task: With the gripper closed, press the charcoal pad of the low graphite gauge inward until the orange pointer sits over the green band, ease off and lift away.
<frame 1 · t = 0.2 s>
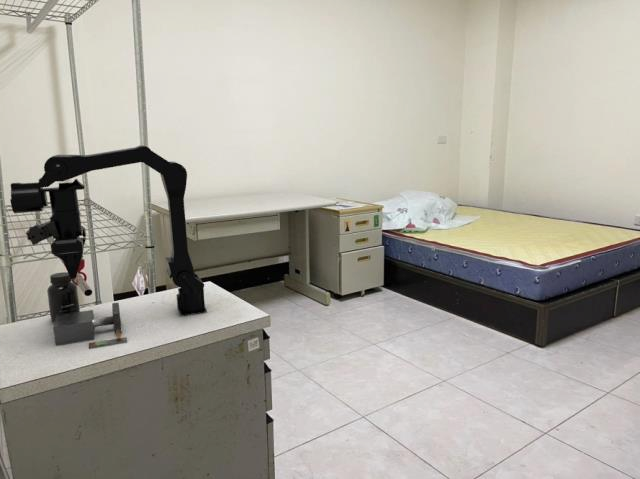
hand: (74, 273, 116), 14 cm above the table, fingers open, 9 cm apart
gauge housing: (76, 335, 114), on the table
supplement bottle: (66, 319, 125), on the table
gauge plunger: (92, 324, 113), point 3 cm above the table, slide at 0.0 cm
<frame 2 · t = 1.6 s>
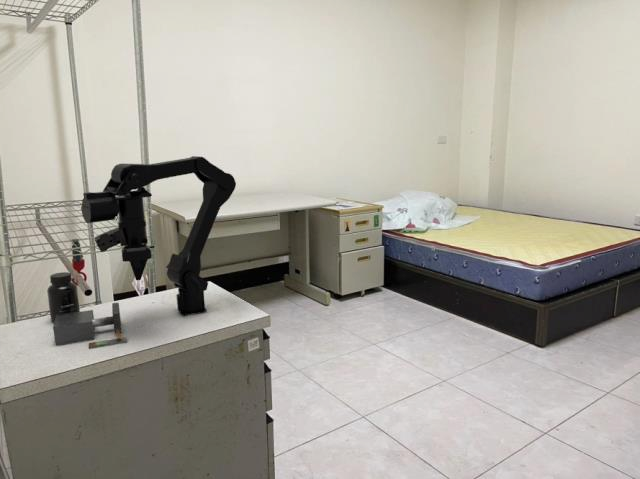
hand: (138, 279, 117), 12 cm above the table, fingers closed
nothing on the table moved.
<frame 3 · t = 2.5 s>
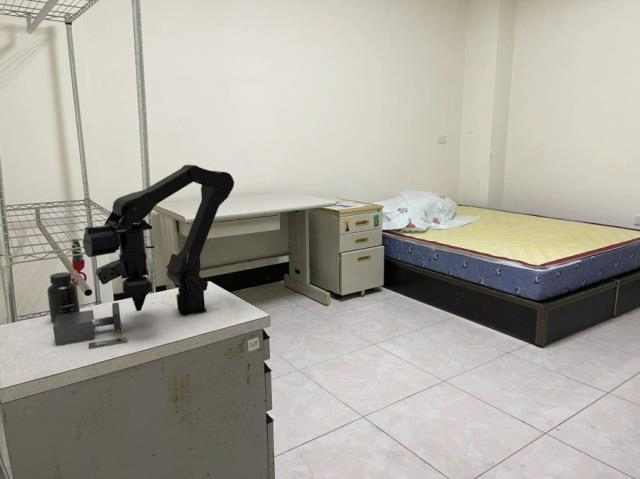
hand: (138, 310, 119), 4 cm above the table, fingers closed
nothing on the table moved.
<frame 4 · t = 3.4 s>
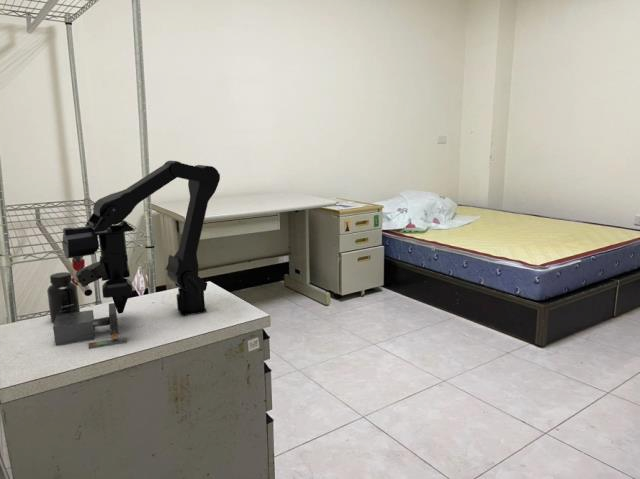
hand: (120, 312, 117), 4 cm above the table, fingers closed, pressing on gauge plunger
gauge plunger: (89, 325, 113), point 3 cm above the table, slide at 0.8 cm, touching gripper
everything else where it was.
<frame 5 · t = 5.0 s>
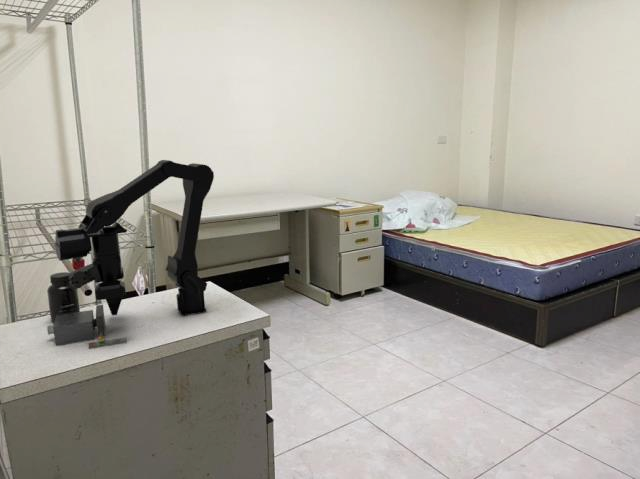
hand: (114, 314, 117), 4 cm above the table, fingers closed
gauge plunger: (75, 327, 112), point 3 cm above the table, slide at 3.6 cm
everything else where it was.
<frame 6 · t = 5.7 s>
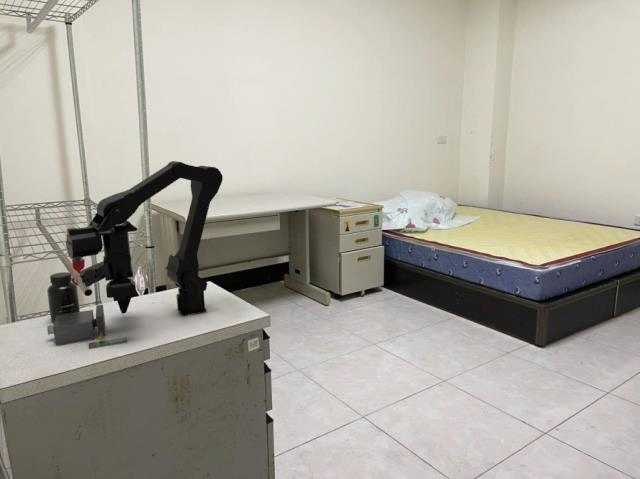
hand: (123, 312, 118), 4 cm above the table, fingers closed
nothing on the table moved.
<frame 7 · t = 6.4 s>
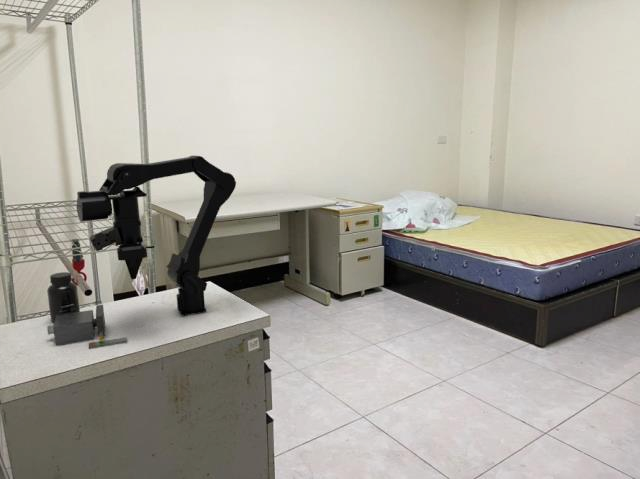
hand: (133, 278, 118), 12 cm above the table, fingers closed
nothing on the table moved.
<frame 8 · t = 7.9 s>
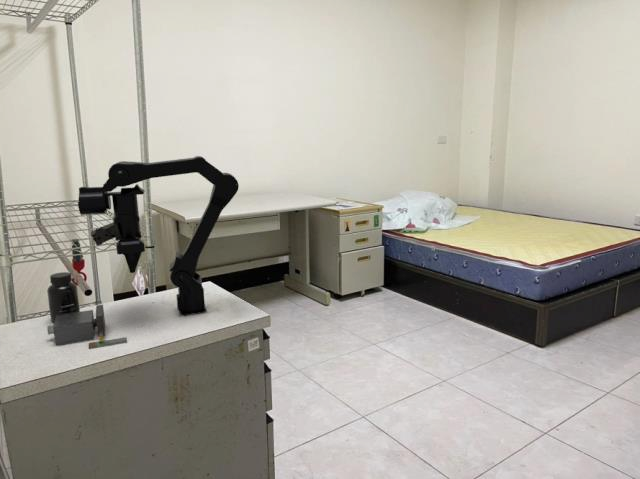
hand: (132, 272, 123), 12 cm above the table, fingers closed
nothing on the table moved.
at the end: gauge plunger slide at 3.6 cm; supplement bottle moved 0.2 cm from its start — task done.
